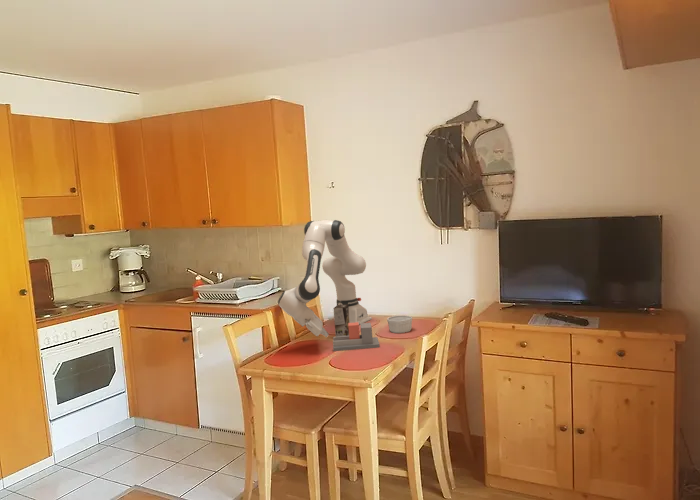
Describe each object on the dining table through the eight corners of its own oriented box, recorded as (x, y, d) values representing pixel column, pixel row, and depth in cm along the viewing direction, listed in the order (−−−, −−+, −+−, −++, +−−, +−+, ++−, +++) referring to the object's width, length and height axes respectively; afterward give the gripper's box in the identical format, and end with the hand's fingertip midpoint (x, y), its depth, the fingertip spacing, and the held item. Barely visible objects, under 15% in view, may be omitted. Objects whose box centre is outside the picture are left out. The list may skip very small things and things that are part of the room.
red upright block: (349, 344, 266) (348, 325, 265) (349, 340, 272) (348, 323, 271) (360, 343, 266) (358, 324, 265) (359, 340, 272) (358, 322, 271)
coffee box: (347, 338, 284) (345, 307, 283) (335, 338, 286) (332, 308, 284) (351, 334, 293) (348, 304, 292) (339, 334, 295) (336, 304, 293)
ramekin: (409, 334, 284) (409, 320, 283) (385, 333, 288) (384, 320, 288) (415, 327, 296) (414, 315, 296) (391, 327, 301) (390, 315, 300)
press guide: (333, 351, 262) (331, 331, 261) (333, 343, 276) (332, 324, 275) (379, 347, 263) (378, 327, 262) (377, 340, 277) (376, 321, 276)
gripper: (309, 316, 257) (331, 335, 258) (311, 308, 277) (332, 326, 278) (300, 327, 257) (322, 345, 258) (303, 317, 278) (323, 335, 279)
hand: (327, 335), depth 269 cm, fingers closed
